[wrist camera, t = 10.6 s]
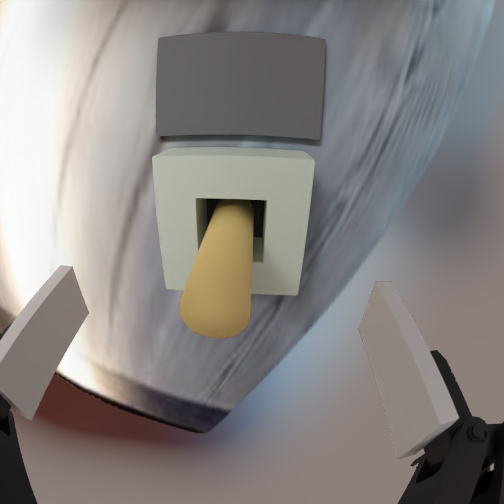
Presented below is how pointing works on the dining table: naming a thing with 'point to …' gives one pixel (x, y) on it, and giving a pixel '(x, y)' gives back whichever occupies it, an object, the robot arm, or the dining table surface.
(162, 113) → the mat
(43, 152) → the dining table surface
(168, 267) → the hole block
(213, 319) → the peg
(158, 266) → the dining table surface
